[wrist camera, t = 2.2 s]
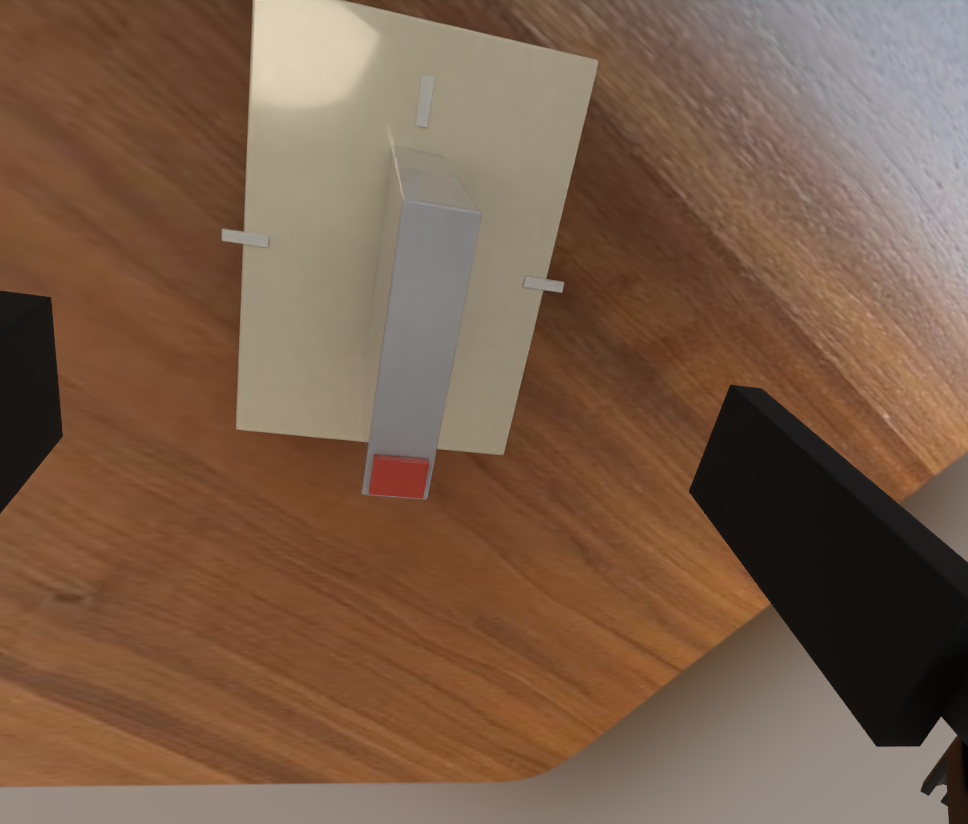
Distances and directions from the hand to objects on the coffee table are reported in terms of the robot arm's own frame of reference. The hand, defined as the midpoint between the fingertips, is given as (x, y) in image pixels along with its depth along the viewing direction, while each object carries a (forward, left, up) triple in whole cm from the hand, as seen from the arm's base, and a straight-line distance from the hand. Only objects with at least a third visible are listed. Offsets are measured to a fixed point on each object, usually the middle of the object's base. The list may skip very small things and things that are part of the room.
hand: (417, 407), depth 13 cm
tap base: (0, 0, -13) cm, 13 cm away
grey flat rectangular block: (0, 0, -10) cm, 10 cm away
